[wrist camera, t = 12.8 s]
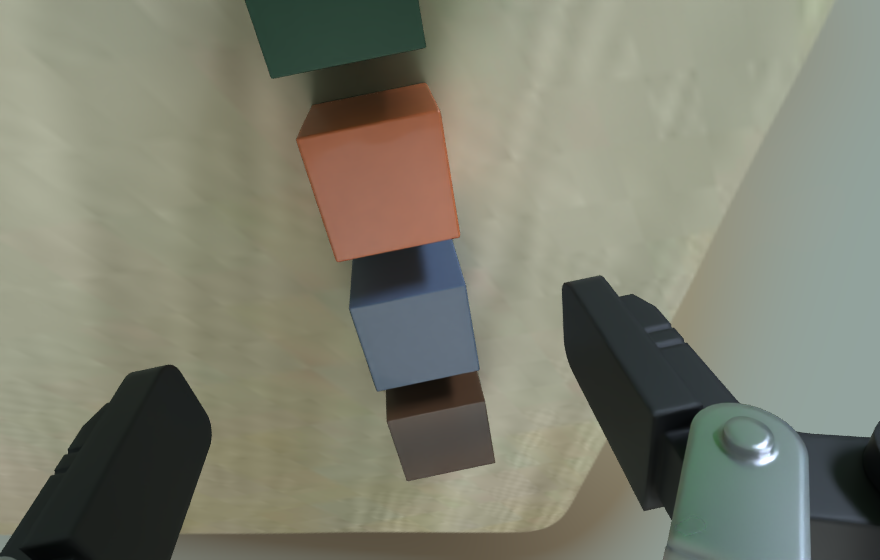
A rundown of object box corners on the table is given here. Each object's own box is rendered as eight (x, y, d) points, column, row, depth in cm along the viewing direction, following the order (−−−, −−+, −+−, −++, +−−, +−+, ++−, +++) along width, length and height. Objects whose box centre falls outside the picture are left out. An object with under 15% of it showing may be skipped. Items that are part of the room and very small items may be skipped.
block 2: (445, 190, 21) (460, 238, 18) (342, 211, 21) (336, 263, 17) (426, 81, 19) (440, 109, 15) (310, 104, 19) (294, 138, 15)
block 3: (463, 309, 25) (480, 371, 21) (376, 327, 25) (376, 392, 21) (449, 231, 22) (465, 284, 19) (352, 251, 22) (348, 308, 19)
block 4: (478, 397, 29) (495, 463, 25) (402, 413, 28) (406, 481, 25) (468, 337, 26) (485, 401, 22) (384, 355, 26) (386, 421, 22)
